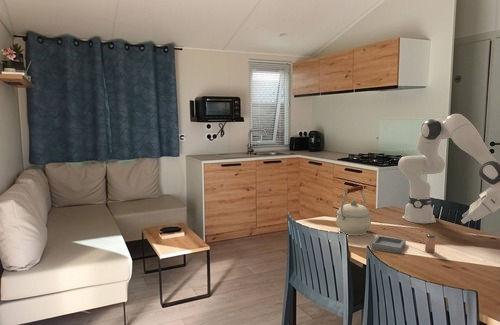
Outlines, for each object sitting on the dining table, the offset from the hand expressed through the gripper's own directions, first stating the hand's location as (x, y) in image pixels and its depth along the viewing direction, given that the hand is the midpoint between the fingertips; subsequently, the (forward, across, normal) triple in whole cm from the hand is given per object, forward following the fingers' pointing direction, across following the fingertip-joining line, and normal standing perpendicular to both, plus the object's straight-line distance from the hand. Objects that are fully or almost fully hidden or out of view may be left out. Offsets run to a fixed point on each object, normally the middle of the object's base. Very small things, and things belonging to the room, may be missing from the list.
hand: (462, 219), depth 167 cm
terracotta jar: (+21, 0, +3) cm, 21 cm away
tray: (+34, +2, -10) cm, 35 cm away
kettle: (+48, -13, -24) cm, 56 cm away
